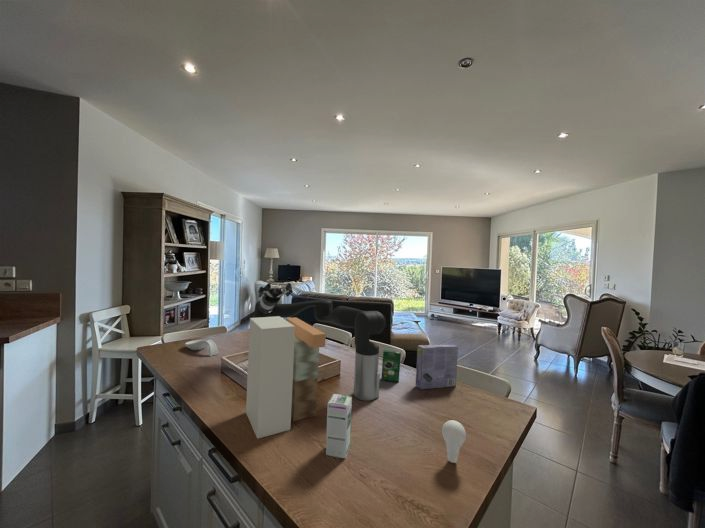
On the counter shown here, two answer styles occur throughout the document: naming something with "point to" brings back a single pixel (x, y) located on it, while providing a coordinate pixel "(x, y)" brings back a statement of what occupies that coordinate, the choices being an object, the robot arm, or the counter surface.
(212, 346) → the spoon rest
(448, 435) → the lightbulb
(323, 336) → the bar
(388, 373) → the coffee box
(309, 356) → the tower
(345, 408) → the syrup box
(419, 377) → the cake pan box
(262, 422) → the stand
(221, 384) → the counter surface
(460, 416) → the counter surface
